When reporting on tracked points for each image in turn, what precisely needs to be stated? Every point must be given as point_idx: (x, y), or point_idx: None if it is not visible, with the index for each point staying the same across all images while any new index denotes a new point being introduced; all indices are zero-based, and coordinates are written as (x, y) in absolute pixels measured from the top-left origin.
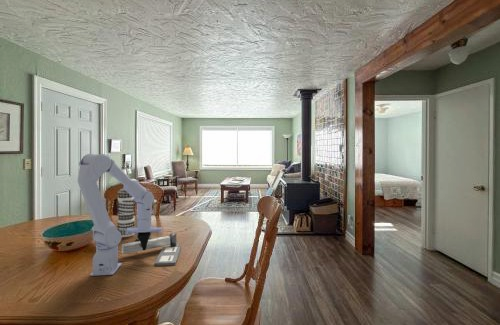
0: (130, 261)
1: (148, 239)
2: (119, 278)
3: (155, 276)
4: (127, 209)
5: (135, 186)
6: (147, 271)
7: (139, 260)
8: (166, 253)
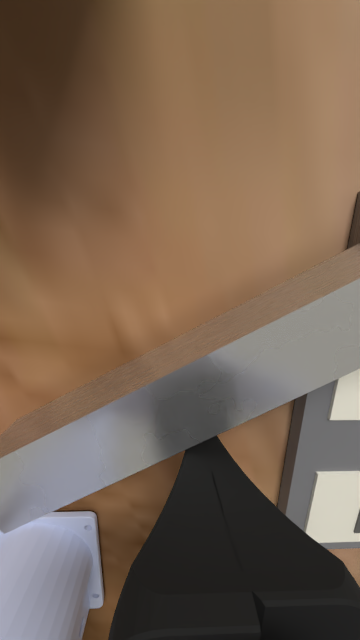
0: (129, 476)
1: (253, 484)
2: None
3: None
4: None
5: None
6: None
7: (178, 467)
8: (346, 431)
